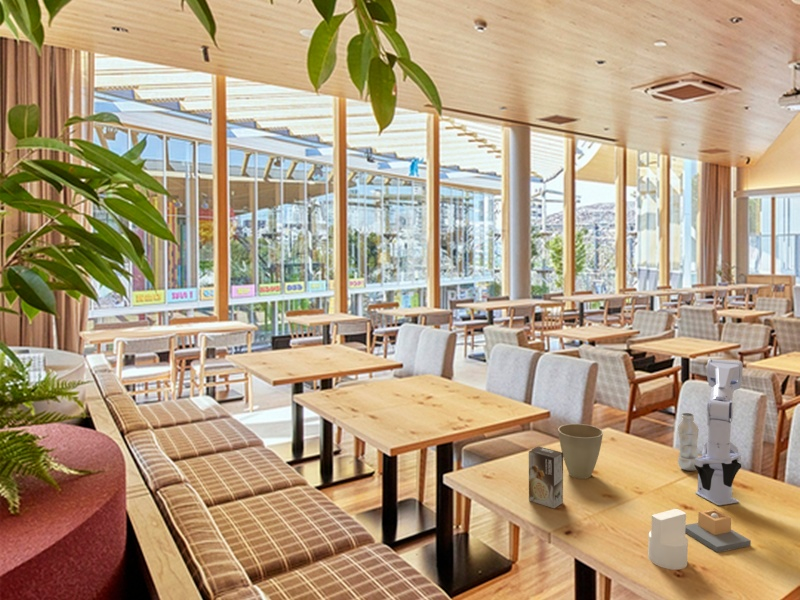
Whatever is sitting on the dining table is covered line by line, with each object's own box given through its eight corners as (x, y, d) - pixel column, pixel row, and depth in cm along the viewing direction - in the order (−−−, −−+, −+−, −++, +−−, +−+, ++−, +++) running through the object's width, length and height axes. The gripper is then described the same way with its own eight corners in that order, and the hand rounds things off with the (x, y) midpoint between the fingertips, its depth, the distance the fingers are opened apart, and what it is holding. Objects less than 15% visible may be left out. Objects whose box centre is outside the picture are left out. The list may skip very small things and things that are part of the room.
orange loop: (698, 525, 160) (698, 511, 160) (713, 522, 162) (714, 508, 162) (714, 535, 155) (715, 520, 155) (730, 531, 157) (731, 517, 156)
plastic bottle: (677, 465, 208) (676, 411, 206) (698, 466, 205) (697, 412, 203) (679, 472, 202) (677, 417, 200) (700, 473, 199) (699, 417, 197)
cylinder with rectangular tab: (669, 573, 140) (670, 525, 139) (640, 555, 148) (641, 510, 147) (695, 564, 144) (697, 518, 143) (665, 547, 152) (667, 503, 151)
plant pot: (556, 465, 209) (556, 422, 208) (599, 468, 206) (599, 424, 205) (558, 481, 195) (559, 436, 193) (605, 485, 192) (606, 438, 190)
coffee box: (564, 502, 179) (564, 452, 178) (554, 509, 175) (554, 458, 173) (537, 494, 185) (538, 445, 184) (527, 500, 181) (527, 451, 179)
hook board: (682, 530, 160) (682, 510, 160) (714, 524, 163) (714, 505, 163) (716, 552, 149) (717, 531, 148) (750, 545, 152) (751, 524, 151)
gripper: (709, 449, 159) (707, 496, 161) (750, 443, 163) (748, 489, 165) (689, 440, 166) (688, 486, 167) (730, 435, 170) (728, 480, 171)
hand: (716, 487), depth 166 cm, fingers open, 7 cm apart
